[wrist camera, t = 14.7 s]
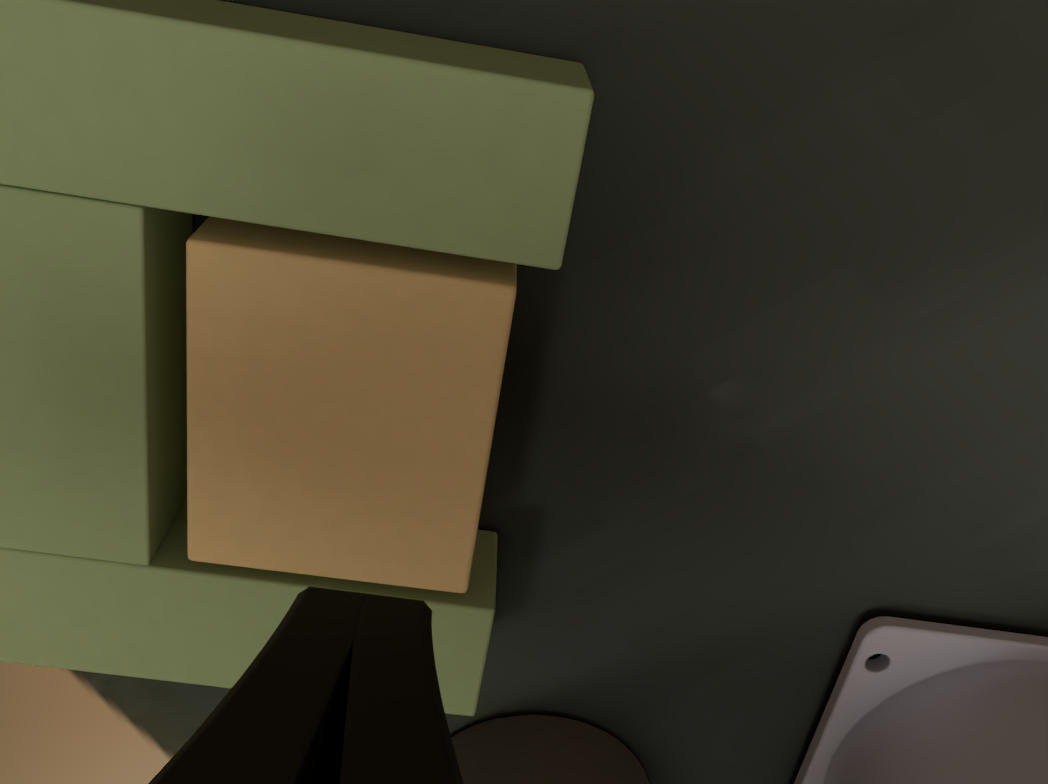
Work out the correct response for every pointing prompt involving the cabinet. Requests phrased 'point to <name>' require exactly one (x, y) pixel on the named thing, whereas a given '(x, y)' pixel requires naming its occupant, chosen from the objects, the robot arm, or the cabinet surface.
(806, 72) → the cabinet surface
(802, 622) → the cabinet surface
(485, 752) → the bottle
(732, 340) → the cabinet surface
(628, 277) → the cabinet surface
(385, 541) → the beige block
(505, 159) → the green pad
